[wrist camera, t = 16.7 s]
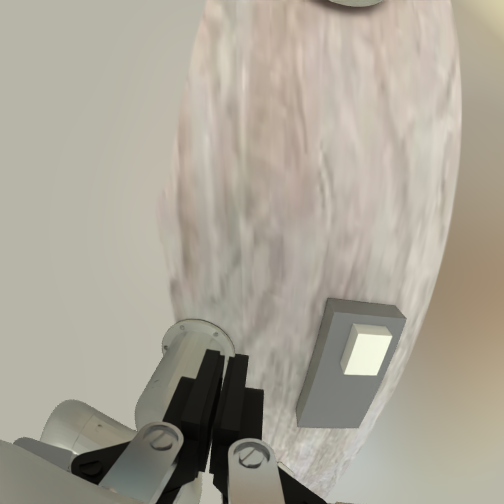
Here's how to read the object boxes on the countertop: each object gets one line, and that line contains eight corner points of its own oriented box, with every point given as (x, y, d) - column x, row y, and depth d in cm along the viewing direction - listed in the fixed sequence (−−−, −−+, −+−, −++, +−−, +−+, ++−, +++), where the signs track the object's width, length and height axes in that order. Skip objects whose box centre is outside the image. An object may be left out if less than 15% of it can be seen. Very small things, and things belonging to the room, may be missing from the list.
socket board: (353, 411, 49) (358, 428, 44) (295, 409, 50) (297, 427, 45) (394, 305, 43) (406, 318, 38) (328, 297, 44) (334, 311, 39)
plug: (363, 348, 46) (376, 375, 38) (334, 346, 46) (344, 374, 38) (375, 312, 44) (392, 336, 36) (345, 308, 44) (358, 333, 36)
